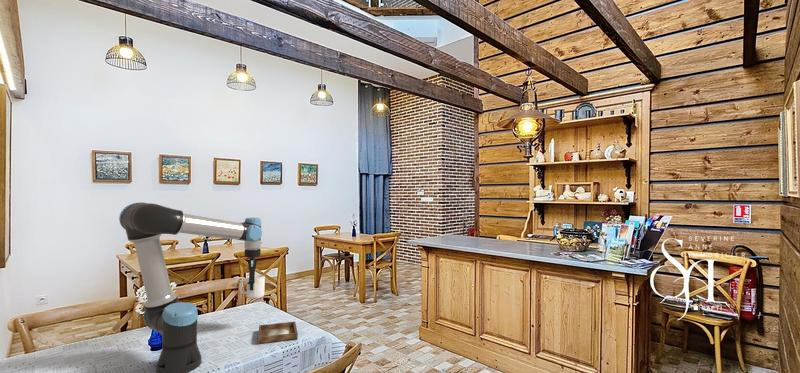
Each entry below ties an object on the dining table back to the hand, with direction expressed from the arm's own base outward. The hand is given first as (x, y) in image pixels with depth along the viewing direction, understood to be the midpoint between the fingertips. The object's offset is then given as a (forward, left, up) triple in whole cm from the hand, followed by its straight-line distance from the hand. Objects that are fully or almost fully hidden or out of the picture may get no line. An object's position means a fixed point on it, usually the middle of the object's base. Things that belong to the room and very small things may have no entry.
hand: (251, 294), depth 183 cm
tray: (+12, -13, -17) cm, 25 cm away
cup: (0, 0, -2) cm, 2 cm away
